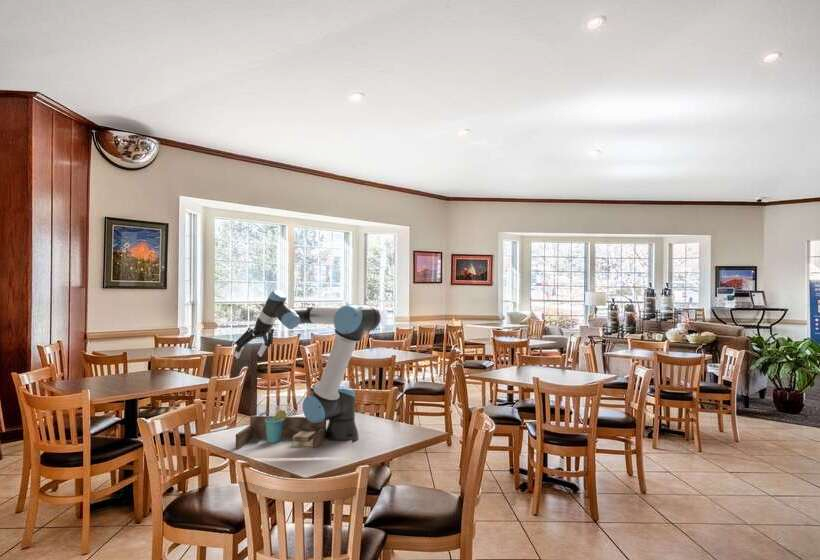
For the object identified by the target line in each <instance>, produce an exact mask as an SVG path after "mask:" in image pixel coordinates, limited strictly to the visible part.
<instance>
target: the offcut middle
mask: <svg viewBox="0 0 820 560" xmlns="http://www.w3.org/2000/svg"><path fill="white" fill-rule="evenodd" d="M293 447H313V439H312V440H311V441H309V442H298V441H293Z"/></svg>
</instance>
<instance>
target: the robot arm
mask: <svg viewBox="0 0 820 560" xmlns="http://www.w3.org/2000/svg"><path fill="white" fill-rule="evenodd" d="M286 301H287V294H286V293H284V292H283V291H281V290H278V289H275V290H274V289H273V290H272V291H271V292H270V293H269V295H268V297H267V299H266V301H265V304H264V306H263V308H262V309H261V312H260V314H259V315H258V318H257V319H256V322H255V326H254V327H253V328H251V327H250V326H249V327H247V329H246V331H245V332H244V333H243V334H242V335H241V336H240V337H239V338H238V339H236V341H235V345H236V346H237V347H236V348H235V351H234V357H235V358H236V359H239V358H240V356H241V354H242V352H243V350H244V346H245V345H247V344H248V343H250V341H253V340H255V339H256V338H262V339H263V342H262V343H261V346H260V347H259V350H258V352H257V355H258V356H259V357H261V358H262V356H263V354H264V353H265V351H266V350H267V348H269V347H270V346H272V345H273V343H274V341H273V340H274V331H275V329H274V328H273V325H274V324H275V322H276V320H279V322H280V323H281V324H282V325H283V326H284V327H285V328H287V329H289V330H293V329H295V328H297V327H298V326H299V325H301V324H312V325H313V324H314V325H315V324H316V325H317V324H319V325H333V326H334V328H335V329H334V333H335V335H336V337H335V340H334V342H333V345H332V348H331V350H330V354H329V356H328V359H327V361H326V364H325V367H324V371H323V373H322V376H321V378H320V381H319V384H317V385H315V386H314V387H313V390H312V392H311V395H307V396H306V397H305V398H304V399H303V401H302V411H303V413H304V414H303V415H304V417H306V418H307V419H308V420H309V421H310V422H313V423H318V422H323V421H326V422H327V421H328V424H327V425H326V436H325V440H328V441H333V442H334V441H335V442H345V441H351V442H355V441H357V440H359V432H358V431H359V430H358V428H357V425H356V418H355V417H356V416H355V415H356V404H355V403H356V393H355V390H354V388H352V387H347V386H346V387H344V386H341V384H342V381H343V378H344V376H345V373H346V371H347V368H348V365H349V362H350V360H351V357H352V356H353V355H352V354H353V352H354V349H355V347H356V344H357V343H359V342H361V341H362V339H363V337H364V333H367V332H371V331H374V330H375V329H377V328H378V327H379V326H380V323H381V319H382V318H381V312H380V311H379V309H378V308H377V307H376V306H374V305H372V304H369V303H368V304H354V303H352V304H351V303H350V304H346V305H342V306H340V307H315V306H314V307H313V306H310V307H309V306H307V307H291V306H290V305H288V304H287V302H286Z"/></svg>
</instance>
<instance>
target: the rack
mask: <svg viewBox="0 0 820 560" xmlns="http://www.w3.org/2000/svg"><path fill="white" fill-rule="evenodd" d="M275 416H276V415H275ZM275 416H274V415H269V418H273V417H275ZM266 419H267V415H261V416H260V415H250V416H249V425H248V426H246V427H245V428H244V429H242V430H240V431H239V432H237V433H236V434H235V450H240V449H241V448H243V447H244V446H246V443H247V444H248V443H250V442H251V441H252V440H262V439H263V438H267V434H266V423H265V420H266ZM326 429H327V420H326V421H323V422H318V423H313V422H310V421H309V420H308V419H307V418H306V417H305V416H286V418H285V420H284V421H283V422H282V428H281V438H291V439H293V436H294V435H296V434H297V433H299V432H300V431H316V434H315V435H314V436H313V446H312V449H315V450H316V449H317V448H319V446H320V445H321V444H322V442H323V441H324V440H326V438H325V436H326ZM249 441H250V442H249ZM239 448H240V449H239Z"/></svg>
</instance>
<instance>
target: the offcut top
mask: <svg viewBox="0 0 820 560" xmlns="http://www.w3.org/2000/svg"><path fill="white" fill-rule="evenodd" d="M315 434H316V431H300V432H299V433H297V434H296V435H294V436H293V438H292V442H294V441H298V442H309V441H311V440H312V439H313V436H314V435H315Z"/></svg>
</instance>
